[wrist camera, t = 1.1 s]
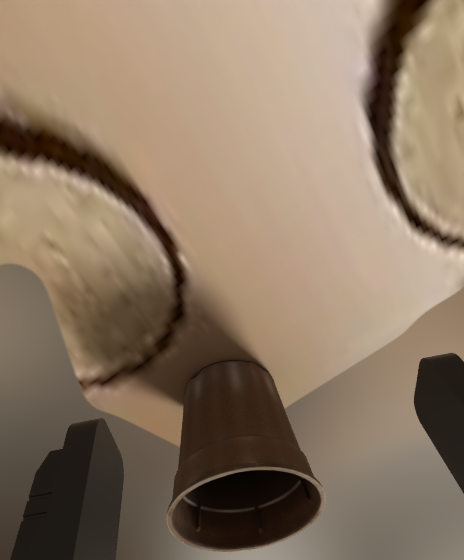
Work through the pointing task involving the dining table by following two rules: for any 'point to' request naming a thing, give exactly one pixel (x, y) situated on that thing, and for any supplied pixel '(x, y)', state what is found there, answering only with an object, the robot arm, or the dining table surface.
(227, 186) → the dining table surface
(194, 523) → the plant pot
